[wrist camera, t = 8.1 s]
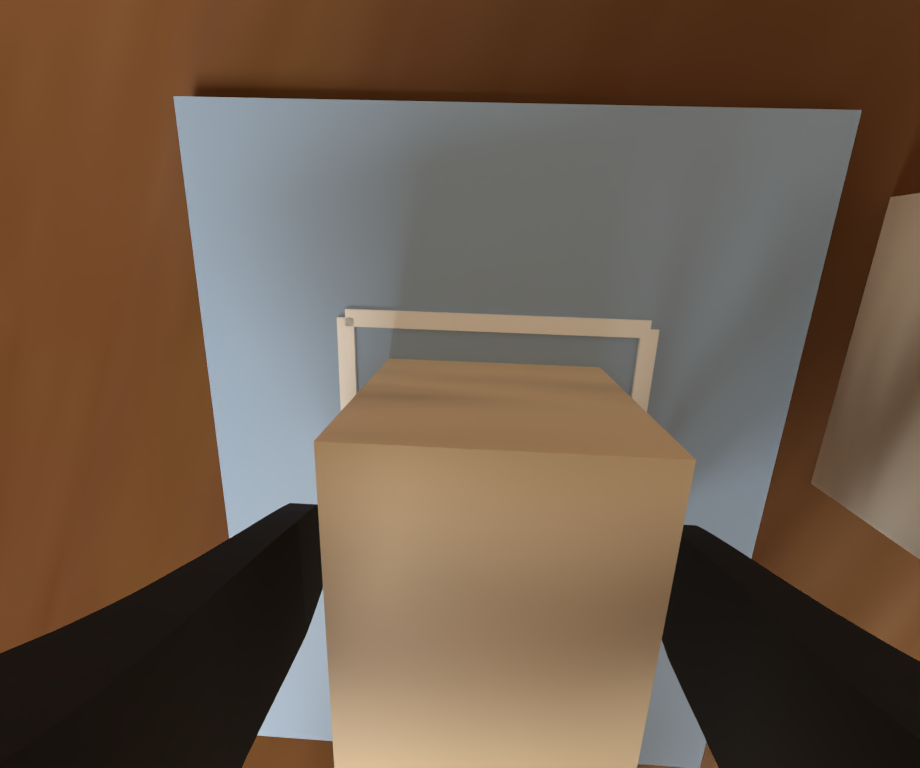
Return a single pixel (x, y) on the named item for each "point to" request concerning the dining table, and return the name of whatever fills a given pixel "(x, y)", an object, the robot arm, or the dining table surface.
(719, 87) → the dining table surface
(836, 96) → the dining table surface
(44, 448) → the dining table surface
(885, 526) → the birch brick
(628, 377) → the board
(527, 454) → the maple brick
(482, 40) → the dining table surface
